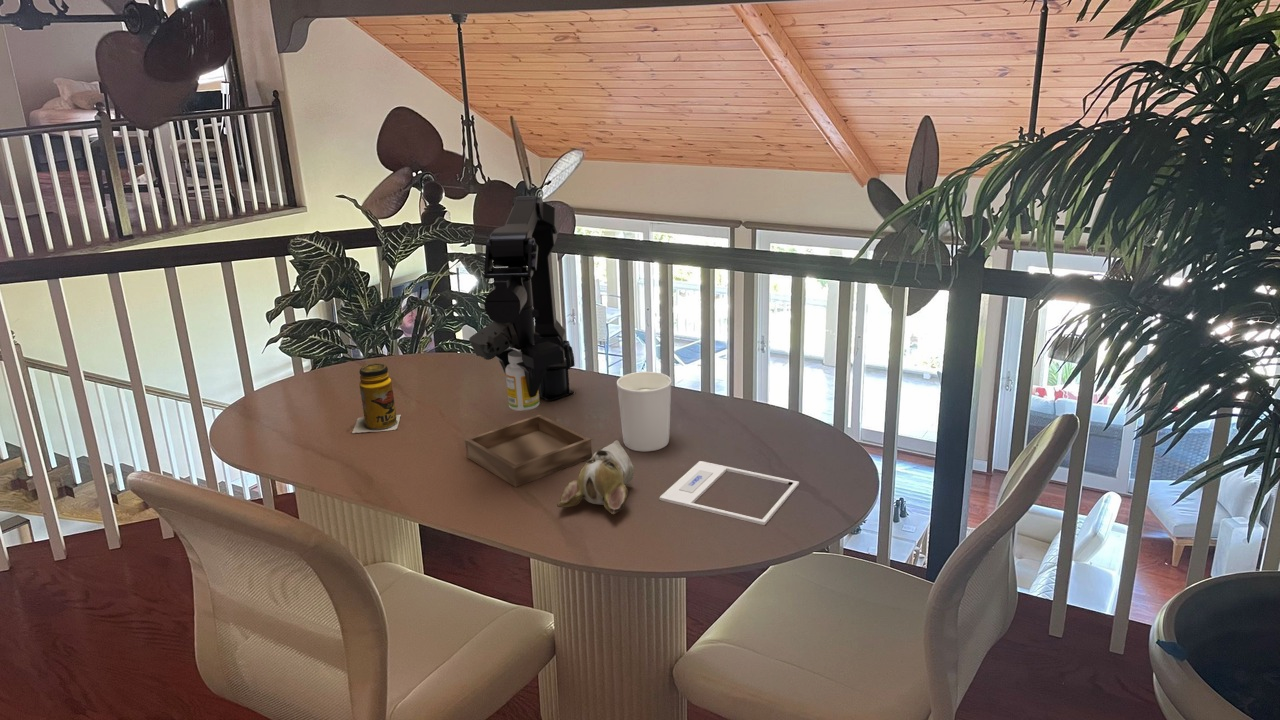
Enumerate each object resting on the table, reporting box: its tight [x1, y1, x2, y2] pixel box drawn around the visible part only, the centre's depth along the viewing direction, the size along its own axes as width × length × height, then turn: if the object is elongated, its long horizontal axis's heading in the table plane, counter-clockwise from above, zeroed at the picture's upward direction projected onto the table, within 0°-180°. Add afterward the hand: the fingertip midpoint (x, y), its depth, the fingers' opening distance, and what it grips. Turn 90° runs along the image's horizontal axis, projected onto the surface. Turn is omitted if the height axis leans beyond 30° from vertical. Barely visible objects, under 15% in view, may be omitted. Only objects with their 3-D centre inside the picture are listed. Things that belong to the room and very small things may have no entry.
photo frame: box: [659, 460, 800, 526], centre depth 144 cm, size 15×1×18 cm
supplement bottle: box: [505, 350, 540, 412], centre depth 154 cm, size 5×5×10 cm
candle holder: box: [616, 371, 673, 452], centre depth 162 cm, size 10×10×12 cm
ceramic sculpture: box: [556, 439, 635, 515], centre depth 143 cm, size 11×9×15 cm
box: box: [464, 413, 593, 488], centre depth 159 cm, size 16×16×4 cm
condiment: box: [351, 363, 401, 434], centre depth 174 cm, size 7×8×12 cm
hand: (523, 392), depth 155 cm, fingers closed on supplement bottle, 5 cm apart
